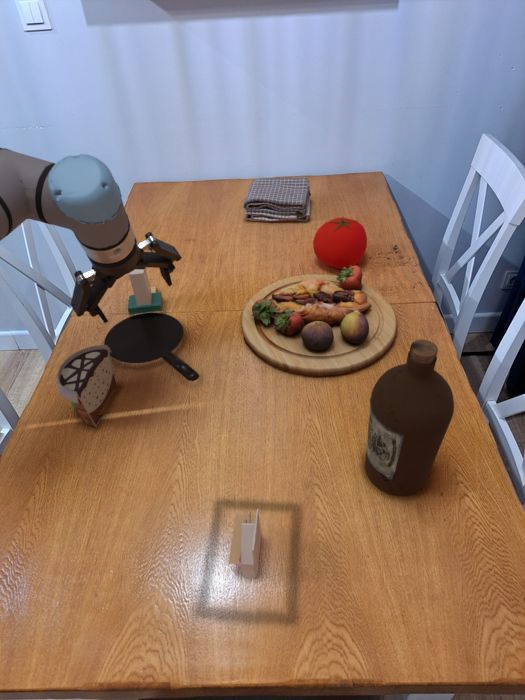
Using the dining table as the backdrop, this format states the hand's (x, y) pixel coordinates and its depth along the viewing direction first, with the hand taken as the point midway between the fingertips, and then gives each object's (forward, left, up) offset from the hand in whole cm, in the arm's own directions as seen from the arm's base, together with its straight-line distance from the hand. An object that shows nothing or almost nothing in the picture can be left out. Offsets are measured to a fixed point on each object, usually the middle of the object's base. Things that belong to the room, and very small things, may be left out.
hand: (135, 298), depth 92 cm
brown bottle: (+51, -17, -12) cm, 55 cm away
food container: (-2, -17, -12) cm, 21 cm away
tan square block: (-8, +15, -12) cm, 21 cm away
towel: (+10, +63, -12) cm, 65 cm away
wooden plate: (+32, +15, -12) cm, 37 cm away
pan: (+3, -1, -12) cm, 12 cm away
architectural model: (+34, -36, -12) cm, 51 cm away
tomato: (+32, +40, -12) cm, 53 cm away
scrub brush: (-6, +11, -12) cm, 17 cm away
